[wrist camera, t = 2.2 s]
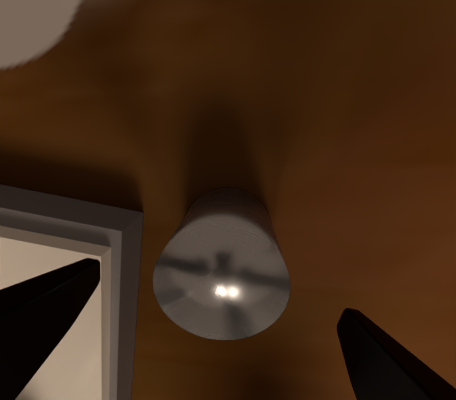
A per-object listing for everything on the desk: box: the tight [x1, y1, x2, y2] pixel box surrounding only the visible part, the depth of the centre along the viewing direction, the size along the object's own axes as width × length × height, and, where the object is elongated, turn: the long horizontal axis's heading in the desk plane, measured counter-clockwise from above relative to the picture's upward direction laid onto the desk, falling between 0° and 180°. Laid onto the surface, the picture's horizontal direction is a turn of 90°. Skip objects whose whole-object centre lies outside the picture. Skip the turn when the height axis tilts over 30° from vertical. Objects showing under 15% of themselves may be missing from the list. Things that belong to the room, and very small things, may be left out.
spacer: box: [153, 188, 290, 340], centre depth 10 cm, size 5×5×5 cm
